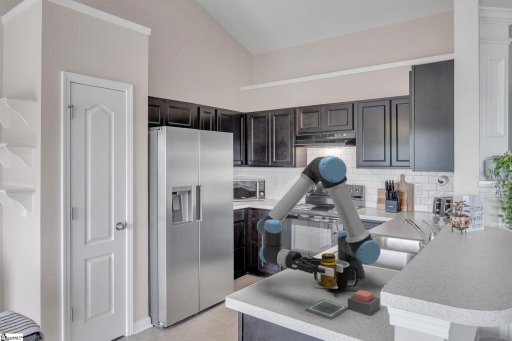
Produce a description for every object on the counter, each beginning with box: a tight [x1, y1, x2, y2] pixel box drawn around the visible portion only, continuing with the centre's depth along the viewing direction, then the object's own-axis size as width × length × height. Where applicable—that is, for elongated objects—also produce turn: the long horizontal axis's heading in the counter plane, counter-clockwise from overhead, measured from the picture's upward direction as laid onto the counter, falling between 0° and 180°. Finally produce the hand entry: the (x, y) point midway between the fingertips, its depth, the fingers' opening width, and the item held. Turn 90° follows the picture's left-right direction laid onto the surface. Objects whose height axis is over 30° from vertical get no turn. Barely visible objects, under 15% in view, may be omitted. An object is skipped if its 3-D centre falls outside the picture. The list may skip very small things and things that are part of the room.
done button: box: [353, 289, 374, 303], centre depth 136 cm, size 5×5×3 cm
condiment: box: [314, 252, 338, 289], centre depth 135 cm, size 7×8×12 cm
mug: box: [313, 259, 359, 293], centre depth 157 cm, size 16×16×12 cm
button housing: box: [347, 295, 381, 316], centre depth 136 cm, size 9×9×4 cm
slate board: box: [305, 299, 349, 320], centre depth 135 cm, size 13×12×1 cm
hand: (337, 270), depth 131 cm, fingers closed on condiment, 6 cm apart
